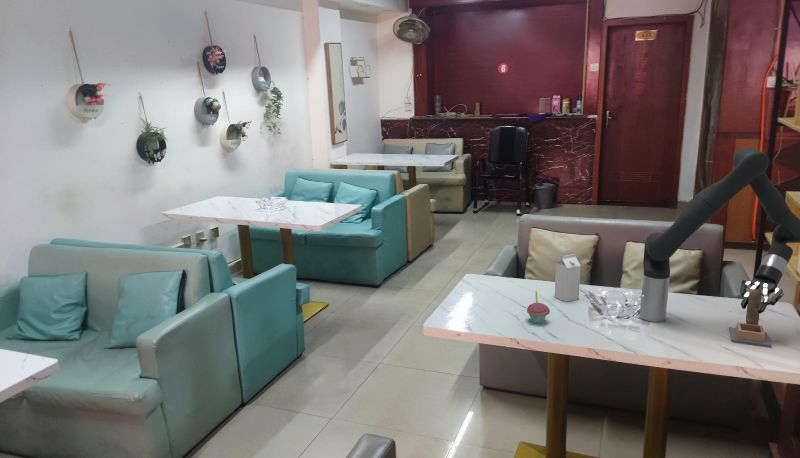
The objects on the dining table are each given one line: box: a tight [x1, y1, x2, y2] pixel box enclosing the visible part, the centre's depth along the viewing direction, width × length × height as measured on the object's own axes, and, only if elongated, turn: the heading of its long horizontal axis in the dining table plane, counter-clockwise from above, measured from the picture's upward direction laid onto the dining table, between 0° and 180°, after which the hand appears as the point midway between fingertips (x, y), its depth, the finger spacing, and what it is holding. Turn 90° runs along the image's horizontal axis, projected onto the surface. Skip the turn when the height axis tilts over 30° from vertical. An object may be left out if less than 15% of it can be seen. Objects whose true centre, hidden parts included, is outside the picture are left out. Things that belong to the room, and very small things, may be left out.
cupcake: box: [526, 291, 551, 324], centre depth 229 cm, size 9×8×12 cm
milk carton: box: [554, 253, 582, 303], centre depth 251 cm, size 7×7×19 cm
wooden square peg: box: [745, 288, 763, 325], centre depth 210 cm, size 4×4×12 cm
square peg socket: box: [728, 321, 772, 348], centre depth 212 cm, size 12×12×4 cm
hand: (750, 309), depth 209 cm, fingers closed on wooden square peg, 4 cm apart
